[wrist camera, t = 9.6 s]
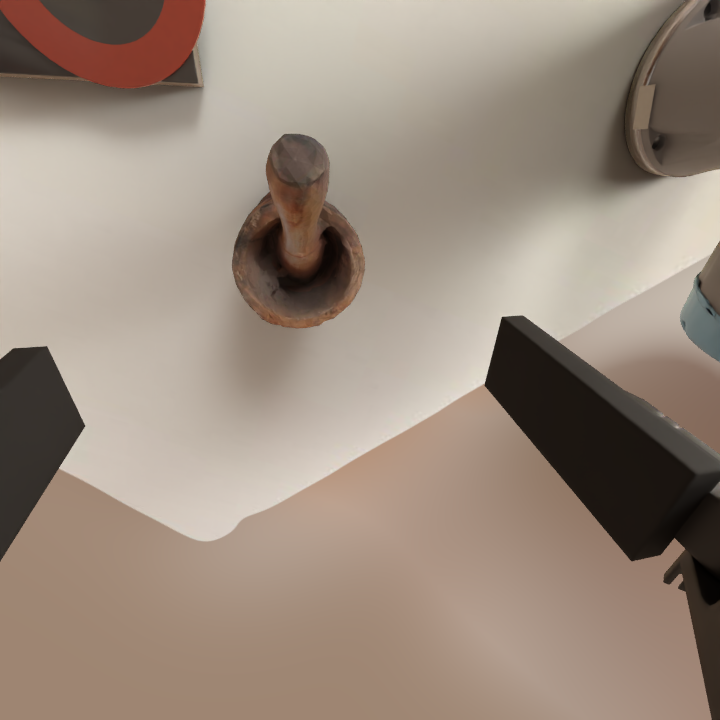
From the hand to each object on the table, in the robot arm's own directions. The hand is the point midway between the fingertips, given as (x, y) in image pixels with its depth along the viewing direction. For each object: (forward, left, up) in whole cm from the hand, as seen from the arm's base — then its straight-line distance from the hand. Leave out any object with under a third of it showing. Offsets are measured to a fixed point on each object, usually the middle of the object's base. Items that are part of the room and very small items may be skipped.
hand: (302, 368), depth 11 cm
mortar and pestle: (0, 0, -28) cm, 28 cm away
